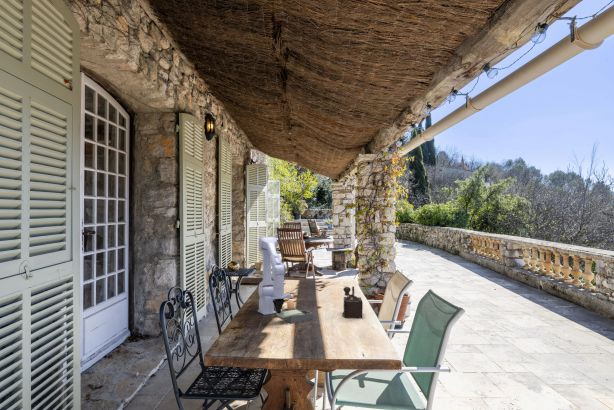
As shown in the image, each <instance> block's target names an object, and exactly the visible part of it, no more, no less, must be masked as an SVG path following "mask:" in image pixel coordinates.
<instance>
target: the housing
mask: <svg viewBox="0 0 614 410" xmlns="http://www.w3.org/2000/svg"><path fill="white" fill-rule="evenodd" d="M294 310H298V311H300V312H302V314H299V315H294V316H289V317H281V316H279V315H277V313H275V314H276V317H277V318H279V319H281V320H283V321H285V322H287V323H288V324H297V323H302V322H306V321H310V320H313V319H314V317H313V315H314V312H311V311H309V310H306V309H301V310H300V309H298V308H296V307H294ZM281 311H283V312H284V311H287V307H286V308H281Z"/></svg>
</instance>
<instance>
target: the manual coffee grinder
mask: <svg viewBox="0 0 614 410" xmlns="http://www.w3.org/2000/svg"><path fill="white" fill-rule="evenodd" d="M342 291H343V292H344V293H343V294H344V296H343V312H342V316H343V318H345V319H363V307H364V305H363V299H362V297H360V296H357V295H355V286H352V287H351V288H350V287H349V286H344V287H343V289H342ZM350 292H352V293H351V294H350Z"/></svg>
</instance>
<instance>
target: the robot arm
mask: <svg viewBox="0 0 614 410" xmlns="http://www.w3.org/2000/svg"><path fill="white" fill-rule="evenodd" d="M277 245H278V239H277V237H276V236H263V237H262V236H260V237H259V239H258V251H259V252H261V255H262V277H263V278H262V279H263V280H262V281H261V282H259V284H258V297H259V298H258V309H257V312H258V313H260V314H263V315H265V316H266V315H272V314H277V313H278V314H280V312H281V311H282V309H283V305H284V303H285V301H286V300H285V299H291V298H292V293H285V276H286V271H287V269H286V268H287V267H286V265H285V264H284V263H283V262H282V259H281V256H280V254H278V253H277ZM272 279H273V280H272ZM274 309H275V310H274Z"/></svg>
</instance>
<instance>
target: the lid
mask: <svg viewBox="0 0 614 410" xmlns="http://www.w3.org/2000/svg"><path fill="white" fill-rule="evenodd" d="M298 310H299V309H298ZM298 310H290V311H284V312H283V311H282V310H281V312H280V314H278V313H276V314H277V315H279V316H281V317H289V316H294V315H299V314H302V312H300V310H299V311H298Z"/></svg>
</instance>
